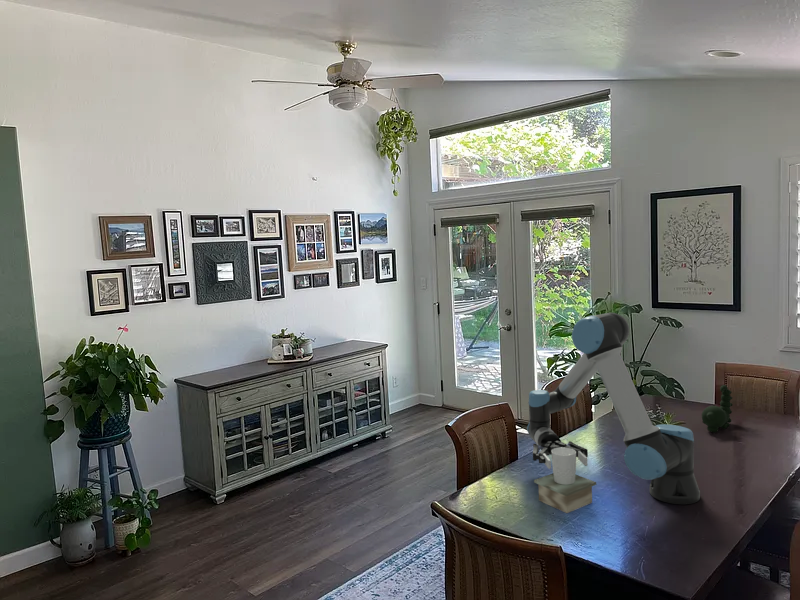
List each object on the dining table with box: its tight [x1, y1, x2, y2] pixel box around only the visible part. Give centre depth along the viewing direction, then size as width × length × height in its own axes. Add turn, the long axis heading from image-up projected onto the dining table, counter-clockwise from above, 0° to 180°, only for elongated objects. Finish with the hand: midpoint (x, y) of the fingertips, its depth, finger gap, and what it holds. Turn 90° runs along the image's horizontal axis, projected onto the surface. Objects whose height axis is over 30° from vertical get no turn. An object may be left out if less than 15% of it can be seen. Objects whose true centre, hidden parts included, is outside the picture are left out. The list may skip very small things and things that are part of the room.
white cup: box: [551, 447, 577, 485], centre depth 193 cm, size 8×8×10 cm
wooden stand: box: [533, 472, 597, 514], centre depth 193 cm, size 14×14×7 cm
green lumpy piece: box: [701, 384, 733, 433], centre depth 256 cm, size 9×19×25 cm
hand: (568, 463), depth 188 cm, fingers open, 11 cm apart
